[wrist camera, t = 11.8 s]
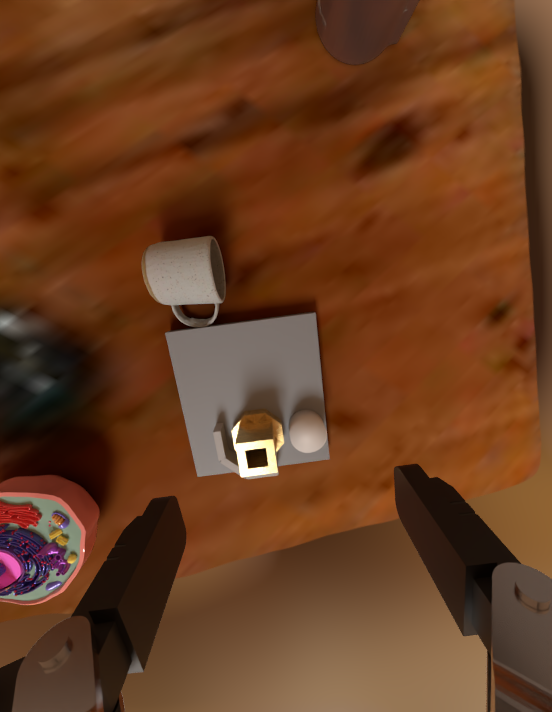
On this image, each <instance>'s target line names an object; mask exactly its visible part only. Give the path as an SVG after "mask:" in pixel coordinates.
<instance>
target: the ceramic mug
mask: <svg viewBox="0 0 552 712" xmlns="http://www.w3.org/2000/svg"><path fill="white" fill-rule="evenodd" d="M142 273H143V278H144V281H145V284H146V287H147V289H148V291H149V293H150V295H151V296H152V297H153V298H154V299H155V300H156V301H157V302H159V303H161V304H165V305H171V306H172V310H173V312H174V314H175V316H176V317H177V318H178V319H179V320H180V321H181V322H182V323H184V324H186V325H188V326H191V327H207V326H209V325H211V324H212V323H213V322H214V320H215V319H216V317H217V315H218V311H219V303H222V302H223V301H224V299H225V293H226V282H225V271H224V264H223V259H222V255H221V251H220V248H219V245H218V243H217V241H216V239H215V238H214V237H213V236H205V237H198V238H189V239H182V240H176V241H166V242H160V243H156V244H153V245H151V246H149V247H147V248H146V250H145V251H144V253H143V256H142ZM211 303H214V304H215V312H214V315H213V316H212V317H211V318H208V319H195V318H188V317H187V316H185V315H184V314H183V313H182V312H181V310H180V309H179V306H178V305H185V304H211Z"/></svg>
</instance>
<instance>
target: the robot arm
mask: <svg viewBox="0 0 552 712" xmlns="http://www.w3.org/2000/svg"><path fill="white" fill-rule="evenodd" d="M418 2H419V0H317V5H316V25H317V31H318V33H319V36H320V39H321V41H322V43H323V45H324V46H325V48H326V49H327V51H328V52H329V53H330V54H331V55H332V56H333V57H335V58H336V59H337V60H339V61H341V62H344V63H346V64H354V65H357V64H364V63H366V62H368V61H371V60H373V59H374V58H375V57H377V56H378V55H379V54H380V53H381V52H382V51H383V50H384V49H385V48H386V47H387V46H388V45H390V44H396V43H397V42H398V41H399V39H400V37H401V35H402V33H403V31H404V29H405V27H406V25H407V23H408V21H409V19H410V18H411V16H412V14H413V12H414V10H415V8H416V6H417V4H418ZM394 480H395V501H396V507H397V511H398V514H399V517H400V519H401V522H402V524H403V525H404V527H405V529H406V531H407V533H408V535H409V536H410V538H411V540H412V542H413V544H414V546H415V548H416V549H417V551H418V553H419V555H420V557H421V559H422V561H423V562H424V564H425V566H426V568H427V570H428V572H429V573H430V575H431V577H432V579H433V581H434V583H435V584H436V586H437V588H438V590H439V592H440V594H441V596H442V598H443V599H444V601H445V603H446V605H447V607H448V609H449V610H450V612H451V614H452V616H453V618H454V619H455V622H456V623H457V625H458V627H459V629H460V631H461V633H462V635H463V636H470V635H479V637H480V639H481V640H482V642H483V644H484V646H485V647H486V649H487V682H486V683H487V684H486V685H487V686H486V687H487V688H486V712H552V579H551V578H550V577H548V576H547V575H545V574H543V573H542V572H540V571H538V570H536V569H534V568H532V567H529V566H526V565H523V564H521V563H520V562H519V561H518V560H517V559H516V557H515V556H514V555H513V554H512V553H511V552H510V551H509V550H508V548H507V547H506V546H505V545H504V544H503V543H502V542H501V541H500V539H499V538H498V537H497V536H496V535H495V534H494V533H493V531H492V530H491V529H490V528H489V527H488V526H487V525H486V524H485V523H484V521H483V520H482V519H481V518H480V517H479V516H478V515H476V514H475V511H474V510H473V509H472V508H471V507H470V506H469V504H468V503H466V502H465V500H464V499H463V498H462V497H461V495H460V494H459V493H458V492H457V491H456V490H455V489H454V488H453V487H452V486H451V485H449V484H447V483H446V482H444V481H443V480H441V479H440V478H438V477H435V478H429V477H428V476H427V474H426V473H425V472H424V471H423V469H422V468H421V467H420V466H419V465H418V464H411V465H403V466H396V467H395V468H394ZM185 545H186V528H185V525H184V521H183V518H182V514H181V511H180V507H179V504H178V501H177V498H176V497H175V496H168V497H161V498H154V499H152V500H151V501H150V503H149V505H148V506H147V508H146V510H145V512H144V514H143V515H142V516H137V517H136V518H135V519H134V520H133V521H132V522H131V523H130V524H129V525H128V526H127V527H126V528H125V529H124V530H123V532H122V534H121V535H120V537H119V539H118V540H117V542H116V544H115V547H114V548H112V550H111V552H110V553H109V555H108V557H107V560H106V561H105V562H104V563H103V565H102V567H101V568H100V570H99V572H98V573H97V575H96V576H95V578H94V580H93V581H92V583H91V585H90V586H89V588H88V590H87V591H86V593H85V595H84V596H83V598H82V599H81V601H80V603H79V604H78V606H77V608H76V609H75V611H74V613H73V614H72V616H71V617H70V618H67V619H65V620H63V621H61V622H60V623H58V624H56V625H55V626H54V627H52V628H51V629H50V630H48V631H47V632H46V633H45V634H44V635H43V636H42V637H41V638H40V639H39V640H38V641H37V642H36V643H35V644H34V646H33V647H32V648H31V649H30V651H29V652H28V654H27V655H26V656H25V657H23V658H21V659H19V660H16V661H14V662H12V663H10V664H8V665H6V666H3V667H1V668H0V712H125V708H124V702H123V696H122V693H121V689H122V687H123V684H124V681H125V679H126V676H127V673H136V672H144V669H145V666H146V662H147V660H148V656H149V654H150V651H151V648H152V645H153V641H154V639H155V635H156V633H157V629H158V627H159V624H160V621H161V618H162V615H163V612H164V609H165V606H166V603H167V600H168V596H169V594H170V591H171V588H172V585H173V582H174V579H175V576H176V573H177V570H178V567H179V564H180V561H181V558H182V555H183V552H184V549H185Z"/></svg>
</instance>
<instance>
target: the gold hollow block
mask: <svg viewBox="0 0 552 712" xmlns="http://www.w3.org/2000/svg"><path fill="white" fill-rule="evenodd" d="M232 436H233V442H234V447H235V450H236V452H237V457H238V463H239V469H240V474H241V477H246V476H253V475H261V474H269V473H276V472H278V468H277V451H278V450H279V449H280V447H281V446H282V445H283V444H284V438H283V430H282V423H281V419H279V418H278V417H277V416H275V415H274V414H272V413H271V412H269V411H268V410H267V409H257V410H249V411H245V412H244V413H243V414H242V415H241V417H240V418H239V419H238V420H237V421H236V423H235V424H234V425H233V428H232Z"/></svg>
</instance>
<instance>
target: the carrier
mask: <svg viewBox="0 0 552 712" xmlns="http://www.w3.org/2000/svg"><path fill="white" fill-rule="evenodd" d="M165 334H166V339H167V343H168V347H169V352H170V356H171V361H172V365H173V370H174V374H175V378H176V383H177V387H178V392H179V396H180V401H181V405H182V409H183V414H184V418H185V423H186V427H187V432H188V436H189V440H190V445H191V449H192V454H193V458H194V463H195V467H196V471H197V476H198V477H200V476H208V475H215V474H223V473H230V472H236V473H237V474H239V475H240V476H241V474H240V469H239V463H238V457H237V452H236V450H235V447H234V442H233V436H232V428H233V425H234V424H235V423H236V421H237V420H238V419H239V418H240V417H241V415H242V414H243V413H244V412H245V411H249V410H257V409H267V410H268V411H269V412H271V413H272V414H274V415H275V416H277V417H278V418H279V419H281V423H282V430H283V438H284V444H283V445H282V446H281V447H280V449H279V450H278V451H277V468H278V466H282V465H290V464H297V463H305V462H312V461H319V460H327V459H329V449H328V438H327V428H326V417H325V406H324V396H323V385H322V375H321V364H320V354H319V343H318V333H317V322H316V313H315V312H307V313H300V314H292V315H285V316H277V317H270V318H262V319H255V320H247V321H240V322H232V323H225V324H217V325H210V326H207V327H195V328H187V329H180V330H172V331H169V332H166V333H165ZM276 475H279V474H278V472H276V473H269V474H261V475H253V476H246V477H243V478H245V479H246V478H248V479H254V478H261V477H269V476H276Z"/></svg>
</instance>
